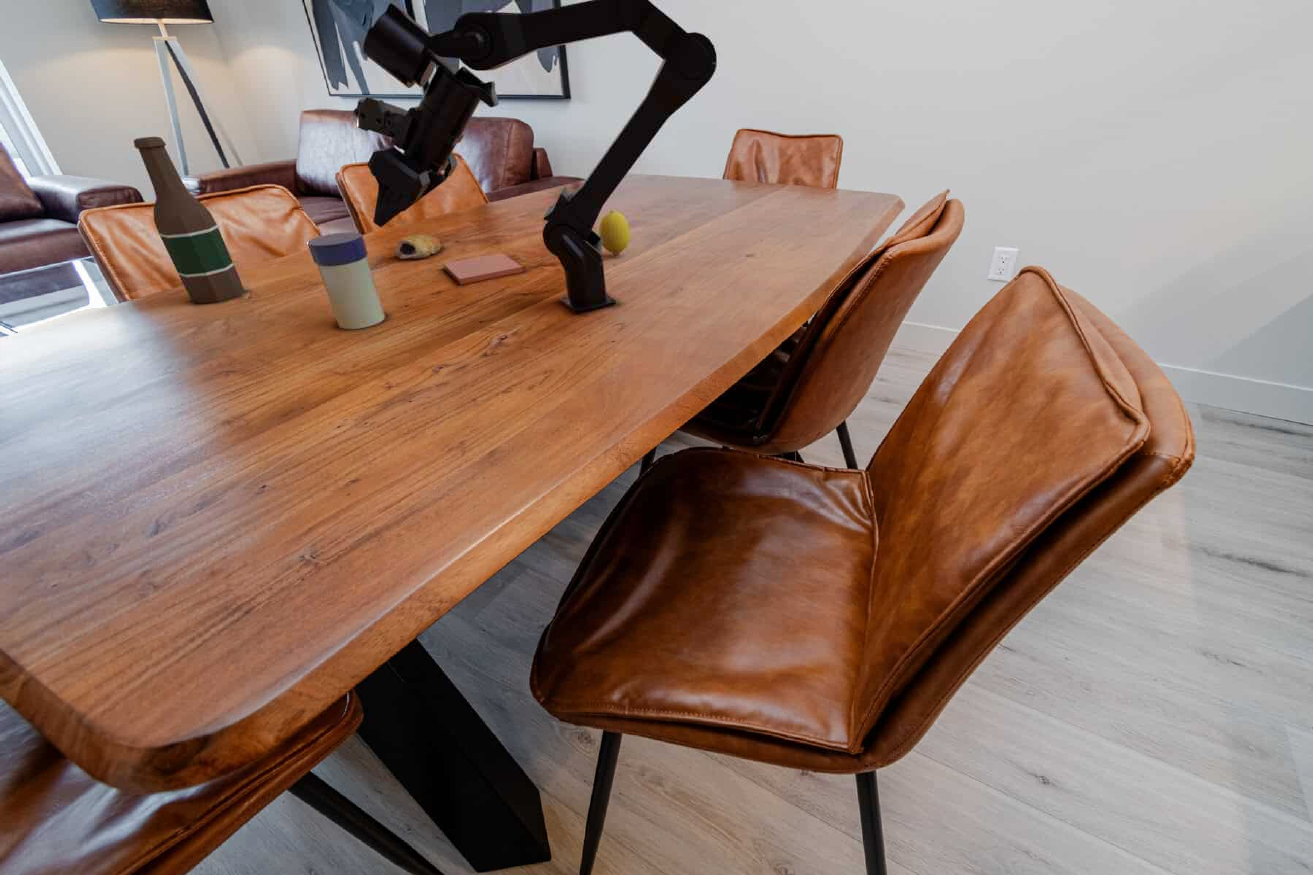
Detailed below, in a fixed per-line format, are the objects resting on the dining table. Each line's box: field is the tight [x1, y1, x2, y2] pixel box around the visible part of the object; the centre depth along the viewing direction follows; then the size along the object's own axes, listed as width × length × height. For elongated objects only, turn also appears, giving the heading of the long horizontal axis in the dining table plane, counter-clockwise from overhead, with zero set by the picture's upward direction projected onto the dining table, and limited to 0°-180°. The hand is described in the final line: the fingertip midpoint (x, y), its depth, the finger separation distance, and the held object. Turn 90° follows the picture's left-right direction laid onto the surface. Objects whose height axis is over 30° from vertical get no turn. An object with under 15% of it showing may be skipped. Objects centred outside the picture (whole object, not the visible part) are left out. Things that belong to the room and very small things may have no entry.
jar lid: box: [307, 231, 368, 265], centre depth 82 cm, size 7×7×3 cm
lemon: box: [598, 209, 631, 257], centre depth 108 cm, size 6×6×8 cm
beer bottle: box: [133, 136, 244, 305], centre depth 94 cm, size 8×8×24 cm
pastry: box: [394, 234, 442, 260], centre depth 117 cm, size 9×7×4 cm
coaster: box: [443, 252, 524, 285], centre depth 106 cm, size 11×11×1 cm
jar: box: [316, 255, 386, 330], centre depth 85 cm, size 6×6×11 cm
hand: (389, 216), depth 82 cm, fingers open, 9 cm apart
